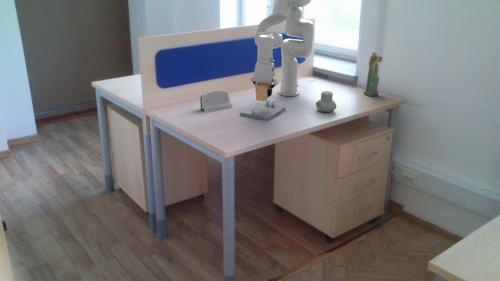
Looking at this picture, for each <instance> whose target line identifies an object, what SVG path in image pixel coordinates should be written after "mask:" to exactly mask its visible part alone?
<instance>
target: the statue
mask: <svg viewBox="0 0 500 281" xmlns="http://www.w3.org/2000/svg"><path fill="white" fill-rule="evenodd" d="M382 61H383V56H381V55H377V53H376V52H374V51H373V52H372V53H371V55H370V56H369V61H368V71H367V77H366V86H365V90H363V94H364V95H365V96H367V97H371V96H378V95H379V91H378V85H379V81H380V78H379V74H378V73H379V63H380V62H382Z"/></svg>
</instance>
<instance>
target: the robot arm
mask: <svg viewBox="0 0 500 281" xmlns="http://www.w3.org/2000/svg"><path fill="white" fill-rule="evenodd" d="M311 1H312V0H275V2H274V4H273V8H272V10H271V13H270V14H269V15H267V16H265V17H264V18H263V19H262V21H260V22H259V24H258V25H257V29H256V30H255V31H256V32H255V35H254V44H255V45H256V46H257V55H256V56H257V58H256V59H257V60H256V61H257V62H256V63H255V65H254V66H255V67H254V71H253V72H254V73H253V74H254V75H252V77H250V81H251V82H252V83H253V86H254V87H255V88H256V87H257V86H258V85H259V83H265V84H267V85H268V88H269V89H268V97H269V98H270V97H271V96H272V95H273V89H274V87H276V86H277V85H278V84H279V82H278V80H277V79H276V68H275V67H276V66H275V62H276V60H275V59H274V56H273V54H274V51H273V50H274V49H279V48H280V52H281V54H280V55H281V71H280V75H281V76H280V89H278V90H277V94H278V95H280V96H284V97H295V96H298V95H300V91H299V90H298V87H299V84H298V76H299V61H298V60H297V58H303V59H306V58H307V59H308V58H310V57H311V55H312V51H313V42H314V32H315V30H314V29H315V28H314V23H313V22H312V21H311V20H308V19H307V20H306V19H302V14H303V8H304V7H305V6H308V5H309V4H310V3H311ZM284 22H285V24H284V28H285V29H284V30H285V31H284V32H285V35H286V36H289V37H293V38H286V39H284V37H283V35H282V34H281V33H278V32H272V31H271V32H270V31H267V30H268V29H270V28H271V27H273V26H276V25H280V24H281V23H284ZM294 37H296V38H302V39H296V38H294Z"/></svg>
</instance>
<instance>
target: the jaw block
mask: <svg viewBox="0 0 500 281" xmlns="http://www.w3.org/2000/svg"><path fill="white" fill-rule="evenodd" d="M268 89H269V88H268V85H267V84H265V83H259V85H258V86H257V87H255V101H259V102H266V100H267V99H269V98H270V97H268Z"/></svg>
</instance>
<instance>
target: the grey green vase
mask: <svg viewBox="0 0 500 281" xmlns="http://www.w3.org/2000/svg"><path fill="white" fill-rule="evenodd" d="M333 95H334V94H333V92H332V91H329V90H323V91H321V94H320V99H318V100H317V101H316V102H315V107H316V109H317V110H318V111H319V112H321V113H331V112H333V111H335V110H336V109H337V103H336V102H335V101H334V100H333V98H334V97H333Z"/></svg>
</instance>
